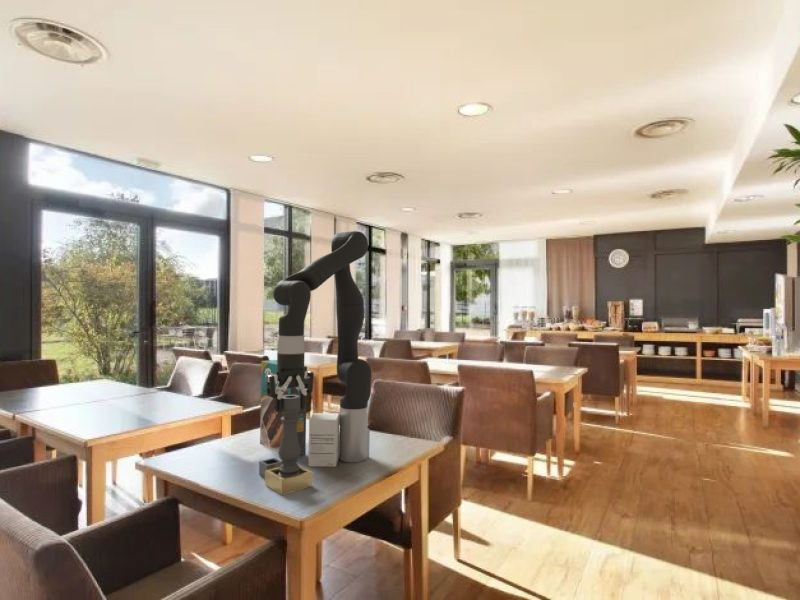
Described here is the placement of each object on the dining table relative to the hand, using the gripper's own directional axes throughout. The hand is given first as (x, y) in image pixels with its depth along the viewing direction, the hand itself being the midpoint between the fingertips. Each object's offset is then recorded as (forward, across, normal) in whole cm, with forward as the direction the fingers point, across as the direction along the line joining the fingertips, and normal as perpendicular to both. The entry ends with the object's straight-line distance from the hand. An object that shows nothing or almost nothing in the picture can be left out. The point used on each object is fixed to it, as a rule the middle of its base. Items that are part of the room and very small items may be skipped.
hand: (290, 410), depth 134 cm
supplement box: (+22, +19, +10) cm, 30 cm away
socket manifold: (+21, 0, +5) cm, 22 cm away
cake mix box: (+21, +15, +31) cm, 41 cm away
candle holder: (+21, 0, 0) cm, 21 cm away
